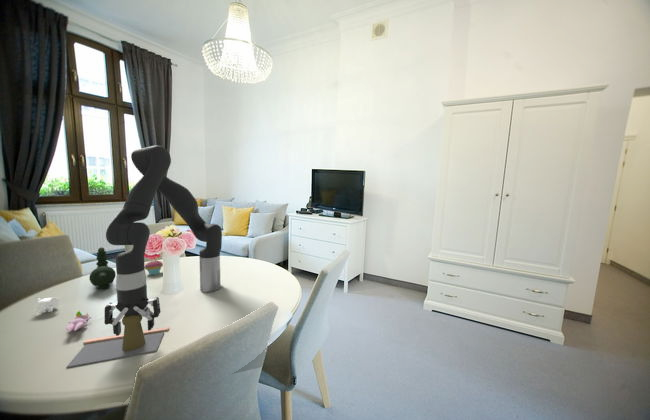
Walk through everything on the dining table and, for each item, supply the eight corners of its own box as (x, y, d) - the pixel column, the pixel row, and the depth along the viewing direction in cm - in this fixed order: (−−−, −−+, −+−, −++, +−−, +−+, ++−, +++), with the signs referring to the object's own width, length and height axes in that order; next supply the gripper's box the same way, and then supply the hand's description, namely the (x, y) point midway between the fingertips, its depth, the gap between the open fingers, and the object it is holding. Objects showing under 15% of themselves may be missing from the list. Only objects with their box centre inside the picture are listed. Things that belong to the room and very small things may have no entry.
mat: (164, 333, 88) (164, 332, 88) (156, 351, 79) (156, 350, 79) (85, 345, 80) (85, 344, 80) (66, 368, 71) (66, 366, 71)
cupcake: (153, 270, 146) (153, 250, 144) (166, 271, 145) (166, 251, 143) (141, 275, 137) (140, 254, 136) (155, 276, 136) (153, 255, 135)
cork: (133, 352, 78) (131, 320, 76) (117, 349, 79) (114, 317, 77) (149, 340, 83) (148, 310, 82) (134, 338, 84) (133, 307, 83)
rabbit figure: (72, 324, 94) (59, 339, 81) (71, 308, 94) (58, 321, 82) (94, 319, 97) (85, 333, 85) (93, 304, 97) (84, 316, 85)
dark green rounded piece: (91, 283, 129) (89, 296, 111) (88, 247, 128) (86, 255, 110) (115, 278, 136) (117, 291, 117) (112, 244, 135) (114, 251, 116)
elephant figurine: (28, 317, 95) (27, 302, 94) (47, 306, 103) (46, 293, 102) (50, 315, 96) (48, 301, 95) (66, 305, 104) (65, 292, 103)
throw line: (169, 328, 91) (168, 326, 91) (168, 330, 90) (168, 329, 90) (85, 341, 82) (85, 339, 82) (83, 344, 81) (83, 342, 81)
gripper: (161, 277, 85) (162, 321, 87) (109, 282, 79) (112, 329, 81) (154, 286, 78) (157, 334, 80) (97, 292, 72) (101, 343, 74)
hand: (134, 331), depth 80 cm, fingers open, 8 cm apart
